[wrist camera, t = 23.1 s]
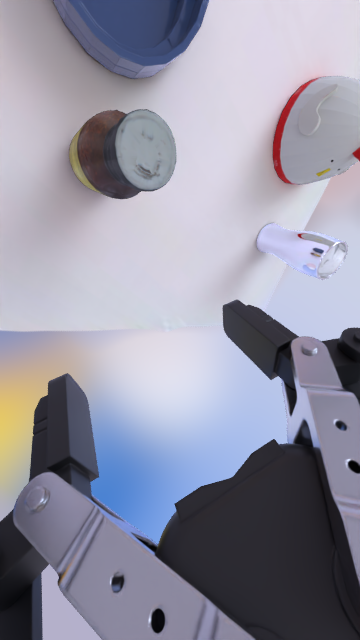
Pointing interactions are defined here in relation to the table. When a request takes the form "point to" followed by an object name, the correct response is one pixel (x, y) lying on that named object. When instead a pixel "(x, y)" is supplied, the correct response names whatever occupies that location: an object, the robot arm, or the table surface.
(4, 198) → the table surface
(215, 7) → the table surface
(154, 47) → the bowl
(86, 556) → the robot arm
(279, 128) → the kitchen timer
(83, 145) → the sauce bottle
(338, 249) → the beer glass
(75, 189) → the table surface
